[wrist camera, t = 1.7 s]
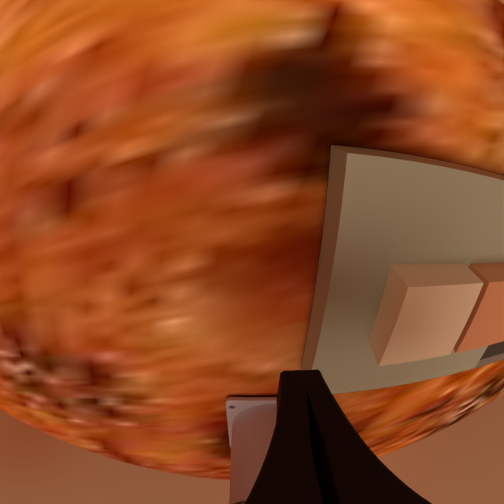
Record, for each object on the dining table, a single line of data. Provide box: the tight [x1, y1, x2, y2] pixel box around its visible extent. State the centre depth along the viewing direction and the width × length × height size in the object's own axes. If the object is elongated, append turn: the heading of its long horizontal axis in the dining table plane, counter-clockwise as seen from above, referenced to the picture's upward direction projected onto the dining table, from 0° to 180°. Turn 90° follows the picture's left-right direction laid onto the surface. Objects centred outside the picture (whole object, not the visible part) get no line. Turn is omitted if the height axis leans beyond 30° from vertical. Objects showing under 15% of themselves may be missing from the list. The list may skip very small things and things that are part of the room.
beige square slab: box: [301, 145, 504, 394], centre depth 16 cm, size 15×15×2 cm
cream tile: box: [368, 264, 483, 366], centre depth 14 cm, size 5×5×2 cm
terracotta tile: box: [453, 263, 504, 353], centre depth 14 cm, size 5×5×2 cm
